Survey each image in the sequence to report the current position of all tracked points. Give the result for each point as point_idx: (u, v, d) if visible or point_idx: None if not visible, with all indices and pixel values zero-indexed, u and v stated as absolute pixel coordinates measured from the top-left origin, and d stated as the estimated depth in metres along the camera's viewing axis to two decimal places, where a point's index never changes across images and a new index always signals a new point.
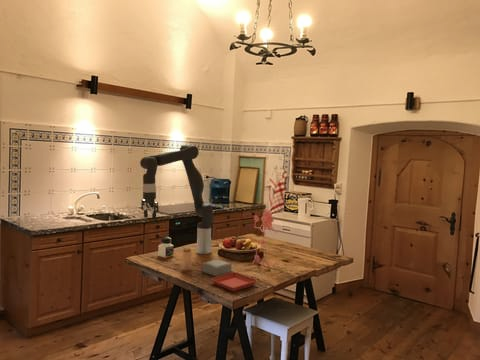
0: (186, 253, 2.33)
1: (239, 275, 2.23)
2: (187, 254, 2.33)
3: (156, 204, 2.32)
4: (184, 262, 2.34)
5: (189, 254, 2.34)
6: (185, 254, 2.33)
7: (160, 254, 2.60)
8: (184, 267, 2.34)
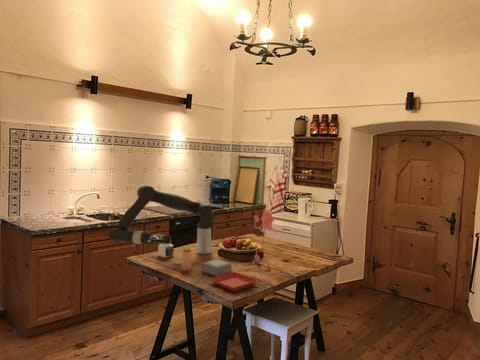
0: (186, 253, 2.33)
1: (239, 275, 2.23)
2: (187, 254, 2.33)
3: (149, 241, 2.31)
4: (184, 262, 2.34)
5: (189, 254, 2.34)
6: (185, 254, 2.33)
7: (160, 254, 2.60)
8: (184, 267, 2.34)
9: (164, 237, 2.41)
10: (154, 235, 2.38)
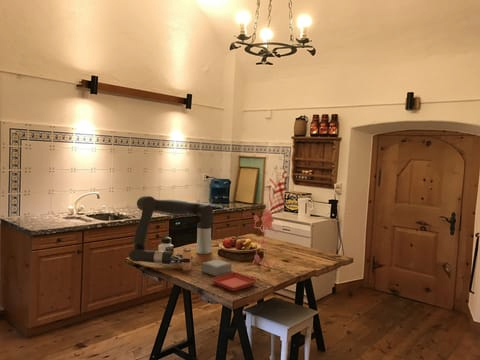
0: (186, 253, 2.33)
1: (239, 275, 2.23)
2: (187, 254, 2.33)
3: (173, 261, 2.30)
4: (184, 262, 2.34)
5: (189, 254, 2.34)
6: (185, 254, 2.33)
7: None
8: (184, 267, 2.34)
9: None
10: (175, 255, 2.37)
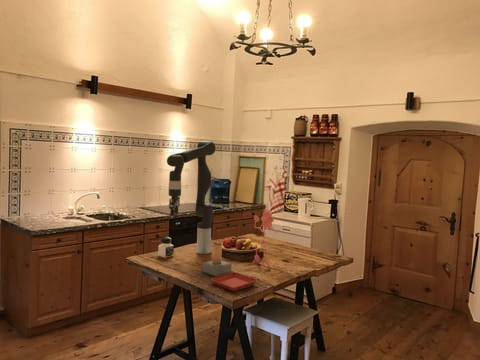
0: (217, 246, 2.30)
1: (239, 275, 2.23)
2: (218, 247, 2.30)
3: (171, 201, 2.38)
4: (214, 256, 2.31)
5: (220, 247, 2.31)
6: (216, 247, 2.30)
7: (160, 254, 2.60)
8: (215, 261, 2.31)
9: (176, 207, 2.49)
10: (177, 200, 2.45)
